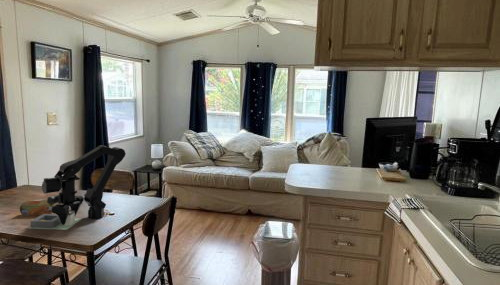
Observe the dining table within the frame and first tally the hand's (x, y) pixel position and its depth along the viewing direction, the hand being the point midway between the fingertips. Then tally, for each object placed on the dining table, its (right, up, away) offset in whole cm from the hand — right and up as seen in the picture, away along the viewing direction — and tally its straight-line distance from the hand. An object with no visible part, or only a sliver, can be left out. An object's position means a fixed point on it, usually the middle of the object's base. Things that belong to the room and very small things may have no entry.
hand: (68, 221), depth 153 cm
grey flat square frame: (-9, -1, -1) cm, 9 cm away
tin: (-22, 0, +10) cm, 24 cm away
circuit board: (-6, -2, 0) cm, 6 cm away
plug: (0, -1, 0) cm, 1 cm away
